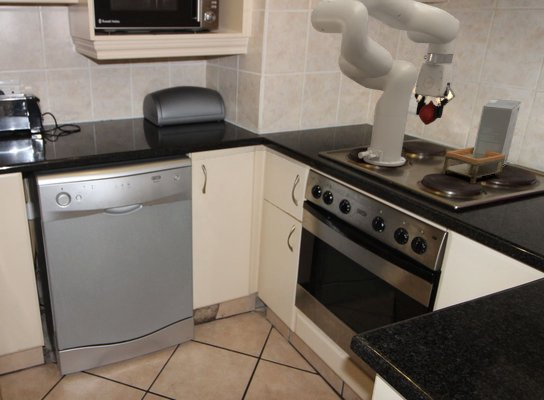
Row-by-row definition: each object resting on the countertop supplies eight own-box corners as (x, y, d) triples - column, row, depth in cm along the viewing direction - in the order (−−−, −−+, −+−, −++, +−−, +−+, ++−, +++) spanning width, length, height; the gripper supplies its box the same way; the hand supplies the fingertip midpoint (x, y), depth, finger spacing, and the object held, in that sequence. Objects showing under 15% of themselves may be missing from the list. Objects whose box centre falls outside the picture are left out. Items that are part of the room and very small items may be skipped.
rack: (473, 184, 135) (478, 160, 133) (442, 174, 144) (446, 151, 141) (500, 178, 140) (505, 154, 137) (468, 169, 148) (473, 147, 146)
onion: (439, 126, 157) (445, 102, 154) (424, 126, 156) (429, 102, 153) (428, 123, 162) (434, 99, 159) (413, 122, 161) (418, 99, 158)
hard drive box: (479, 159, 157) (493, 98, 150) (506, 164, 152) (522, 101, 145) (468, 170, 146) (482, 105, 139) (496, 175, 141) (513, 108, 134)
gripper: (408, 58, 157) (399, 112, 164) (455, 61, 143) (443, 121, 149) (424, 57, 160) (414, 111, 167) (472, 61, 146) (459, 120, 152)
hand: (428, 115), depth 158 cm, fingers closed on onion, 5 cm apart
